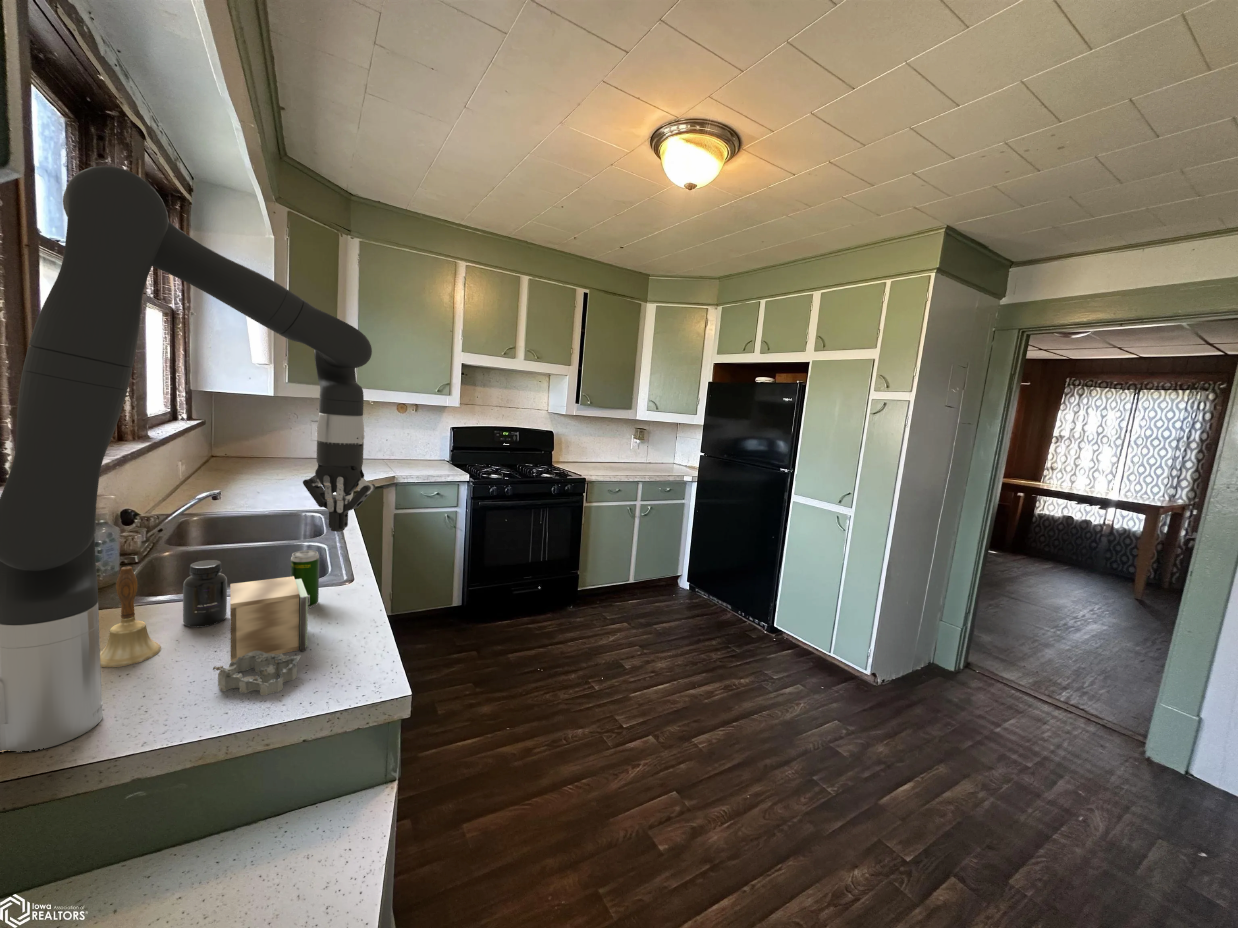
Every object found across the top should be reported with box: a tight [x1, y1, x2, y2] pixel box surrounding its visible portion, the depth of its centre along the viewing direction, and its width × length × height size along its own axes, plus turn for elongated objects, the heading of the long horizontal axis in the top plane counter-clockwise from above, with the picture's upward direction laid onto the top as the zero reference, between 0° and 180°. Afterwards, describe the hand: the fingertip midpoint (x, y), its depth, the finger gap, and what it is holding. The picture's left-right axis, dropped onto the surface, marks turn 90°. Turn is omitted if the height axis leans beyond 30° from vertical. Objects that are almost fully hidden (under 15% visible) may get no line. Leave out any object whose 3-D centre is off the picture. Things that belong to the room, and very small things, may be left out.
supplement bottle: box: [182, 559, 228, 628], centre depth 99 cm, size 7×7×12 cm
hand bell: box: [100, 566, 162, 668], centre depth 85 cm, size 8×8×16 cm
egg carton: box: [212, 651, 302, 696], centre depth 82 cm, size 11×8×4 cm
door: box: [295, 579, 309, 648], centre depth 96 cm, size 2×10×10 cm, turn 39°
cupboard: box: [229, 576, 306, 663], centre depth 92 cm, size 11×11×11 cm
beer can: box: [289, 549, 320, 609], centre depth 110 cm, size 5×5×12 cm
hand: (338, 530), depth 92 cm, fingers closed
